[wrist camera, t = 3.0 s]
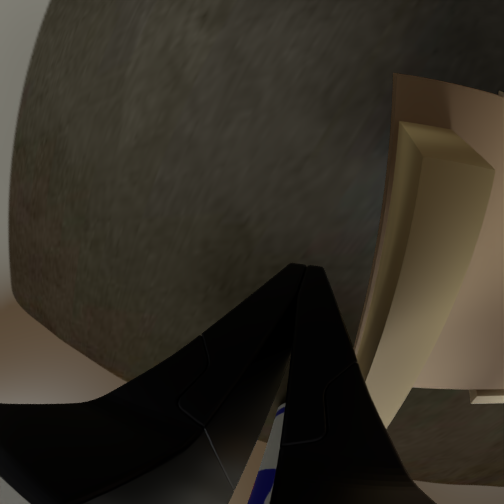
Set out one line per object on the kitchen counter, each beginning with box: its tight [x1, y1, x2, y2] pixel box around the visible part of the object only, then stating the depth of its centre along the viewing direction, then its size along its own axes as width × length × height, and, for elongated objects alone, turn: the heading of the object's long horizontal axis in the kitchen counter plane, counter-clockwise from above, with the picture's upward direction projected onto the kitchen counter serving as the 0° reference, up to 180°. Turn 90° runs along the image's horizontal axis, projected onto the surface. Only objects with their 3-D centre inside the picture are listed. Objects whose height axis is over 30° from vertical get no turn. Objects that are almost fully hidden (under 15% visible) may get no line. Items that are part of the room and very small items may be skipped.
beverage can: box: [248, 403, 285, 504], centre depth 20 cm, size 6×6×15 cm
